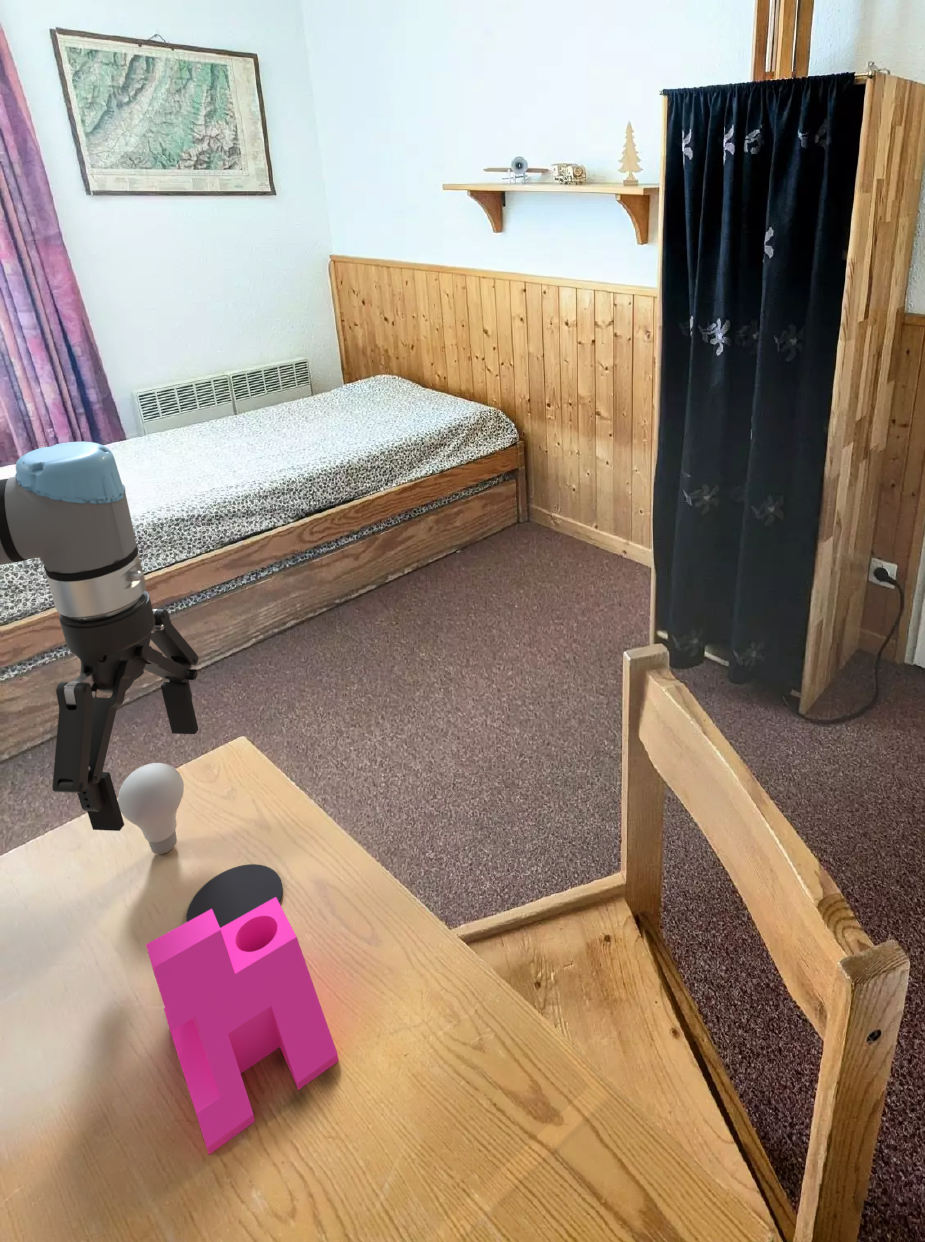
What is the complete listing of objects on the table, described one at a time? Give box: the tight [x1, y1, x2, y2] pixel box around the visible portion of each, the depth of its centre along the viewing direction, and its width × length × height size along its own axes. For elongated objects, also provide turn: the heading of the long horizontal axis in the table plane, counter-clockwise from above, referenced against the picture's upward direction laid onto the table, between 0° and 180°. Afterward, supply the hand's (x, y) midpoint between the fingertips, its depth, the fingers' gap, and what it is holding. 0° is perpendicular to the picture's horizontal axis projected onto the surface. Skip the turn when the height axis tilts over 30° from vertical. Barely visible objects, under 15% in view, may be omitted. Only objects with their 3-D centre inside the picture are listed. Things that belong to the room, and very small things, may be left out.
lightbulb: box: [117, 762, 185, 855], centre depth 83 cm, size 6×6×11 cm
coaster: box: [185, 863, 284, 928], centre depth 78 cm, size 9×9×1 cm
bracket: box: [145, 897, 339, 1156], centre depth 64 cm, size 12×10×10 cm
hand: (150, 776), depth 81 cm, fingers open, 13 cm apart
